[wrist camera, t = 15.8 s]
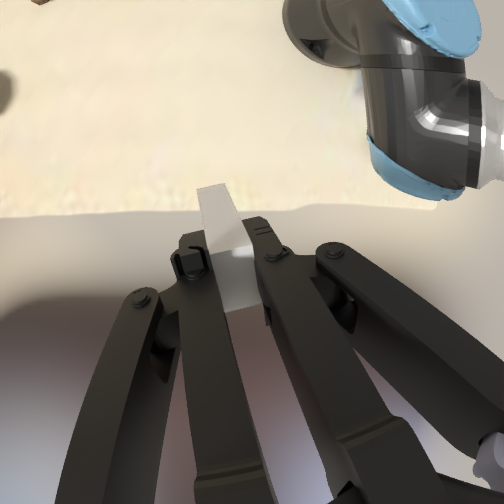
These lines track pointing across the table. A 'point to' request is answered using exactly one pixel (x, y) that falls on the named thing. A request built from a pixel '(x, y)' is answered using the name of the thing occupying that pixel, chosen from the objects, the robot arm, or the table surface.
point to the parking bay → (39, 1)
